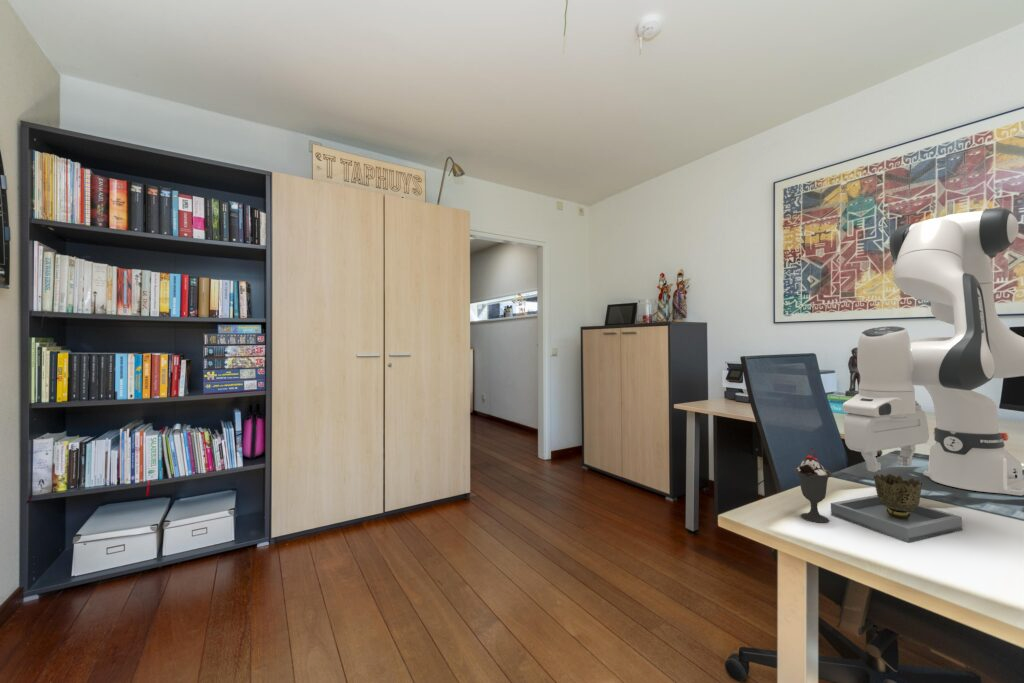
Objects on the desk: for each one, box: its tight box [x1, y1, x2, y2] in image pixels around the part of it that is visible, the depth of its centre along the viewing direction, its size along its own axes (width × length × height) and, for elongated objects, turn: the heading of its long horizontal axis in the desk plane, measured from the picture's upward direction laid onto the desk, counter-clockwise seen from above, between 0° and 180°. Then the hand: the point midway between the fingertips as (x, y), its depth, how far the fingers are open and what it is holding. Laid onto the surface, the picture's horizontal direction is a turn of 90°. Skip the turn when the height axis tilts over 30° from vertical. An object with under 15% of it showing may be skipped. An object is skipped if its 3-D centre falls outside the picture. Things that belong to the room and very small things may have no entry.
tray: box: [830, 494, 963, 544], centre depth 86 cm, size 16×14×3 cm
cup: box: [873, 473, 923, 519], centre depth 86 cm, size 8×7×8 cm
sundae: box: [793, 446, 833, 524], centre depth 89 cm, size 7×7×15 cm
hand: (889, 468), depth 87 cm, fingers open, 8 cm apart
